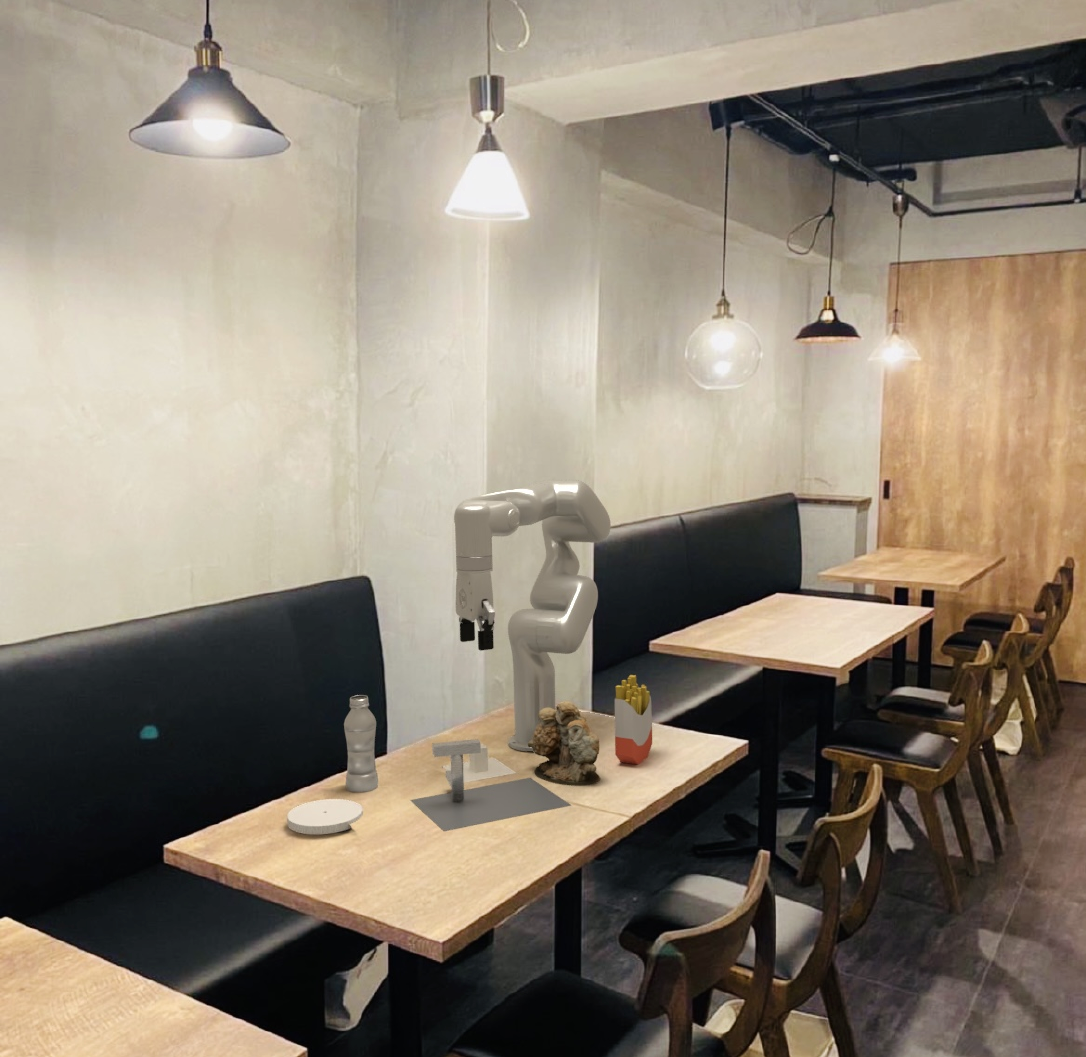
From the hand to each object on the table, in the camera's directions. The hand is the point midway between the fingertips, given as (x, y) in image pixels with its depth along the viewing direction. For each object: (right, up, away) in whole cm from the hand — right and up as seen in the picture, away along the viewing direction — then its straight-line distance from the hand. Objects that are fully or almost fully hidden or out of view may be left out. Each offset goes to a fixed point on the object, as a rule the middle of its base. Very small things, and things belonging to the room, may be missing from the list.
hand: (476, 645), depth 221 cm
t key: (-3, -28, -13) cm, 31 cm away
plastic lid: (-27, -32, -22) cm, 47 cm away
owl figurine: (+18, -28, -2) cm, 34 cm away
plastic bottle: (-23, -30, -6) cm, 38 cm away
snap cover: (0, -29, +3) cm, 29 cm away
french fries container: (+34, -27, +12) cm, 45 cm away
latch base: (+4, -30, -17) cm, 35 cm away
